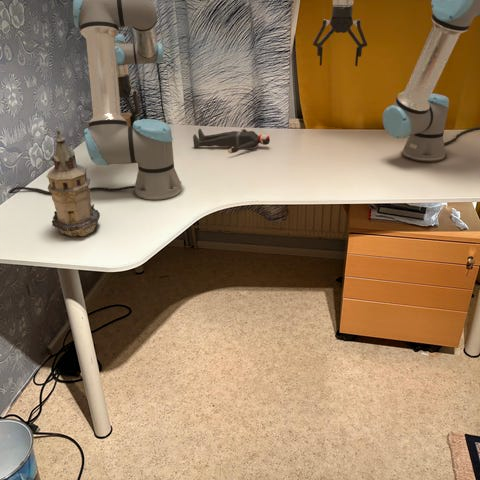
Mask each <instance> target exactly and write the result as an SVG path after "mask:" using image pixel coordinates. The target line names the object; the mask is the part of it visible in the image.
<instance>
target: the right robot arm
mask: <svg viewBox="0 0 480 480" xmlns="http://www.w3.org/2000/svg"><path fill="white" fill-rule="evenodd" d="M354 2H355V1H354V0H332V8H331V19H330V20H329V19H325V18H324V19H323V21H322V25H321V27H320V29H319V31H318V33H317V35H316V36H315V39H314V40H313V41H312V45H313V46H314V47H316V48H317V50H316V55H317V57H319V66H321V67H322V65H323V51H324V49H323V47H324V46H323V45H324V43H326V42H327V40H328V39H329V38H330V37H331V36H332V35H333V34H334V33H336V34H340V33H342V34H346V33H348V35H349V36H350V37H351V38H352V40H353V41H354V43H355V44H356V45H357V47H356V50H355V62H354V66H355V67H358V65H359V64H358V61H359V58H361V57H362V54H363V53H362V51H363V48H366V47H367V46H368V42H367V41H366V37H365V35H364V32H363V29H362V27H361V19H360V18H359V19H355V20H354V19H353V11H354V7H353V5H354ZM430 5H431V7H432V8H431V12H432V15H431V18H430V19H431V21H432V23H433V25H432V27H431V29H430V31H429V34H428V37H427V38H426V41H425V43H424V46H423V48H422V50H421V52H420V54H419V57H418V59H417V61H416V64H415V66H414V67H413V70H412V73H411V75H410V78H409V79H408V82H407V84H406V87H405V89H404V91H401V92H399V93H398V94H397V96H396V98H395V100H394V103H393V104H392V105H389V106H387V107H386V108H385V109H384V111H383V112H382V125H383V129H384V130H385V132H386V133H387V134H388V135H389V136H390V137H392V138H395V139H404V138H407V140H406V142H405V144H404V146H403V148H402V155H403V156H404V157H405V158H407V159H408V160H412V161H415V162H421V163H435V162H440V161H443V160H444V159H445V158H446V149H445V146H446V145H449V144H451V143H453V142H454V141H456V140H457V138H458V137H459V136H461V135H463V134H465V133H468V132H472V131H475V130H476V131H477V130H479V129H480V126H477V127H472V128H468V129H464V130H463V131H461V132H459V133H460V134H459V133H457V134H455V136H454V137H453V138H452V139H450V140H448V141H446V142H445V141H444V133H445V127H446V122H447V117H448V111H449V109H450V107H449V105H450V99H449V98H448V97H447V96H446V95H443V94H440V93H433V92H434V90H435V87H436V86H437V83H438V82H439V79H440V77H441V75H442V73H443V71H444V68H445V67H446V65H447V63H448V61H449V58H450V57H451V54H452V52H453V50H454V47H455V46H456V44H457V42H458V40H459V37H460V35H461V34H462V33H465V32H468V30H469V28H470V26H471V25H472V22H473V20H474V18H476V17H480V0H431V3H430ZM329 24H330V27H331V28H330V30H329V31H328V32H327V33H326V34H325V35H324V37H322V39H321V36H322V35H323V33H324V31H325V29H326V27H329ZM353 25H354V27H356V28H357V32H358V35H359V36H360V38H361V41H360V40H359V39H358V37H357V36H356V34H355V33H354V32H353V30H352V28H351V27H352V26H353ZM320 39H321V40H320ZM319 40H320V41H319ZM455 137H456V138H455Z"/></svg>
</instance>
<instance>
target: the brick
mask: <svg viewBox="0 0 480 480" xmlns="http://www.w3.org/2000/svg"><path fill="white" fill-rule="evenodd" d="M131 115H132V114H131V112H121V116H122V117H123V118H124V119H125V120H126V121H127V126H131V118H130V116H131Z"/></svg>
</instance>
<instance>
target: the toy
mask: <svg viewBox="0 0 480 480" xmlns="http://www.w3.org/2000/svg"><path fill="white" fill-rule="evenodd" d="M202 130H203V129H201V128H198V130H197V134H198V136H197V134H193V136H192V141H193V147H194V148H195V149H198V148H201V147H210V148H211V147H228V148H229V149H227V153H229V154H230V155H231V154H234V153H238V152H239V151H242V150H245V149H248V150H254V149H257V148H258V146H259V144H260V145H264V146H267V145H269V144H270V142H271V139H270V136H269V135H268V134H259V135H258V134H257V133H256V132H255V131H254V130H247V129H245V128H241V129H240V131H239V130H238V131H237V130H234V131H225V132H220V133H215V134H208V135H205V133H204V132H203V131H202Z"/></svg>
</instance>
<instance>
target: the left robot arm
mask: <svg viewBox="0 0 480 480" xmlns="http://www.w3.org/2000/svg"><path fill="white" fill-rule="evenodd" d="M157 12H158V11H157V9H156V6H155V4H154V3H153V1H152V0H73V2H72V15H73V21H74V22H73V23H74V26H75V28H76V29H78V30H79V33H80V35H81V36H83V38H85V42H86V50H87V52H86V53H87V62H88V64H87V65H88V75H89V85H90V94H91V107H92V117H91V119H90V120H89V121H88V127H86V128H85V129H84V130H83V133H84V141H85V146H86V149H87V153H88V156H89V159H90V161H91V162H92V163H93V164H94V165H96V166H107V167H108V166H112V165H114V166H115V165H116V166H117V165H129V164H130V165H131V164H137V175H136V179H135V184H134V185H129V186H128V185H127V186H122V187H103V186H94V187H89V189H90V191H91V192H92V191H108V192H119V191H125V190H133V189H134V193H135V195H136V196H137V197H138V198H141V199H143V200H148V201H161V200H168V199H171V198H174V197H176V196H178V195H179V194H180V193H181V192H182V181H181V179H180V177H179V176H178V173H177V171H176V169H175V161H174V160H175V159H174V158H175V157H174V147H173V140H174V139H173V135H172V129H171V126H170V125H169V124H168V123H167V122H165V121H161V120H159V119H152V118H142V119H138V117H137V116H138V115H139V114H140V113H141V108H140V107H141V106H140V103H139V101H140V100H139V96H138V95H139V90H138V89H134V88H132V87H131V79H130V75H129V65H147V64H152V65H153V64H154V65H155V64H160V63H163V62H164V48H163V43H162V42H158V41H157V40H158V39H157V32H156V31H157V30H156V25H157V22H158V13H157ZM125 27H127V28H129V27H130V28H132V30H133V35H134V36H133V37H134V41H135V42H133V43H131V42H130V43H126V37H125V36H124V34H122V33H120V29H119V28H125ZM130 94H131V95H132V99H131V95H130ZM121 99H124V101H125V102H126V104H127V107H128V109H129V113H131V114H132V115H131V116H130V118H131V126H127V121H126V120H125V119H124V118H123V117H122V116H121V113H122V111H121V109H122V108H121ZM17 190H23V191H24V190H25V191H32V192H33V191H34V192H40V193H42V194H45V195H52V193H51V192H50V191H49V190H45V189H41V188H37V187H28V186H15V187H12V188H11V189H9V191H8V194H12V193H13V192H15V191H17ZM25 288H26V291H27V297H31V296H32V295H31V290H30V286H29V284H27V283H25Z"/></svg>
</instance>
